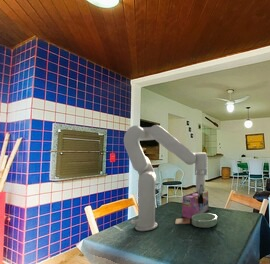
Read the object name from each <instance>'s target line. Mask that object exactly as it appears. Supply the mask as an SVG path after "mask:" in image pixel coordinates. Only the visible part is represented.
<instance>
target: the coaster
mask: <svg viewBox="0 0 270 264" xmlns="http://www.w3.org/2000/svg"><path fill="white" fill-rule="evenodd" d="M190 224H191V219H190V218H185V217H182V218H175V221H174V225H190Z"/></svg>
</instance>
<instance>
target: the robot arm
mask: <svg viewBox="0 0 270 264" xmlns="http://www.w3.org/2000/svg"><path fill="white" fill-rule="evenodd" d="M154 140H155V142H157V143H158V144H160V146H162V147H163V148H165V149H166V150H167V151H169V152H170V153H172V154H173V155H175V156H176V157H177V158H179V159H180V160H181V161H182V162H183V163H185V165H189V166H190V165H193V164H194V176H196V177H195V192H198V204H203V192H205V189H206V176H208V153H206V152H193V151H191V149H189V148H188V147H186V146H185V145H184V144H183V143H182V142H180V141H179V140H178V139H177V138H176V137H175V136H174V135H172V134H171V133H170V132H168V131H167V130H166V129H164V127H162V126H161V125H159V124H153V125H152V126H148V127H147V126H146V127H145V126H144V127H142V126H140V125H132V126H130V127H129V128H128V129H126V132H125V133H124V136H123V146H124V148H125V151H126V153H127V155H128V159H129V161H130V163H131V166H132V168H133V170H135V172H137V174H138V176H139V177H138V180H137V191H138V192H137V193H138V203H137V204H138V205H137V208H138V209H137V211H138V212H137V219H131V220H130V221H129V223H130V225H132V226H133V225H135V226H134V229H135V230H136V231H139V232H149V231H152V230H155V229H157V228H158V223H157V222H156V181H157V173H156V172H155V169H154V167H153V165H152V163H151V160H150V158H149V157H148V156H146V155H145V153H144V151H143V148H142V146H141V143H140V141H154Z"/></svg>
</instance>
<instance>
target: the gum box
mask: <svg viewBox="0 0 270 264" xmlns="http://www.w3.org/2000/svg"><path fill="white" fill-rule="evenodd" d="M196 197H198V192H197V191H194V192H192V193H188V194H185V195H182V197H181V198H182V199H181V201H182V202H181V207H182V208H181V209H182V211H181V212H182V213H181V214H182V215H181V216H182V218H190V220H192V216H193V215H194V214H198V213H206V212H208V211H209V209H210V208H209V190H208V191H204V192H203V197H205V198H206V203H203V204H198V203H196Z"/></svg>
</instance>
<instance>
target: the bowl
mask: <svg viewBox="0 0 270 264" xmlns="http://www.w3.org/2000/svg"><path fill="white" fill-rule="evenodd" d="M217 224H218V216H217V215H216V214H214V213H211V212H203V213H198V214H194V215H193V216H192V219H191V225H192V226H193V227H196V228H197V227H198V228H201V229H202V228H204V229H205V228H207V229H208V228H211V227H214V226H216V225H217Z"/></svg>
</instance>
